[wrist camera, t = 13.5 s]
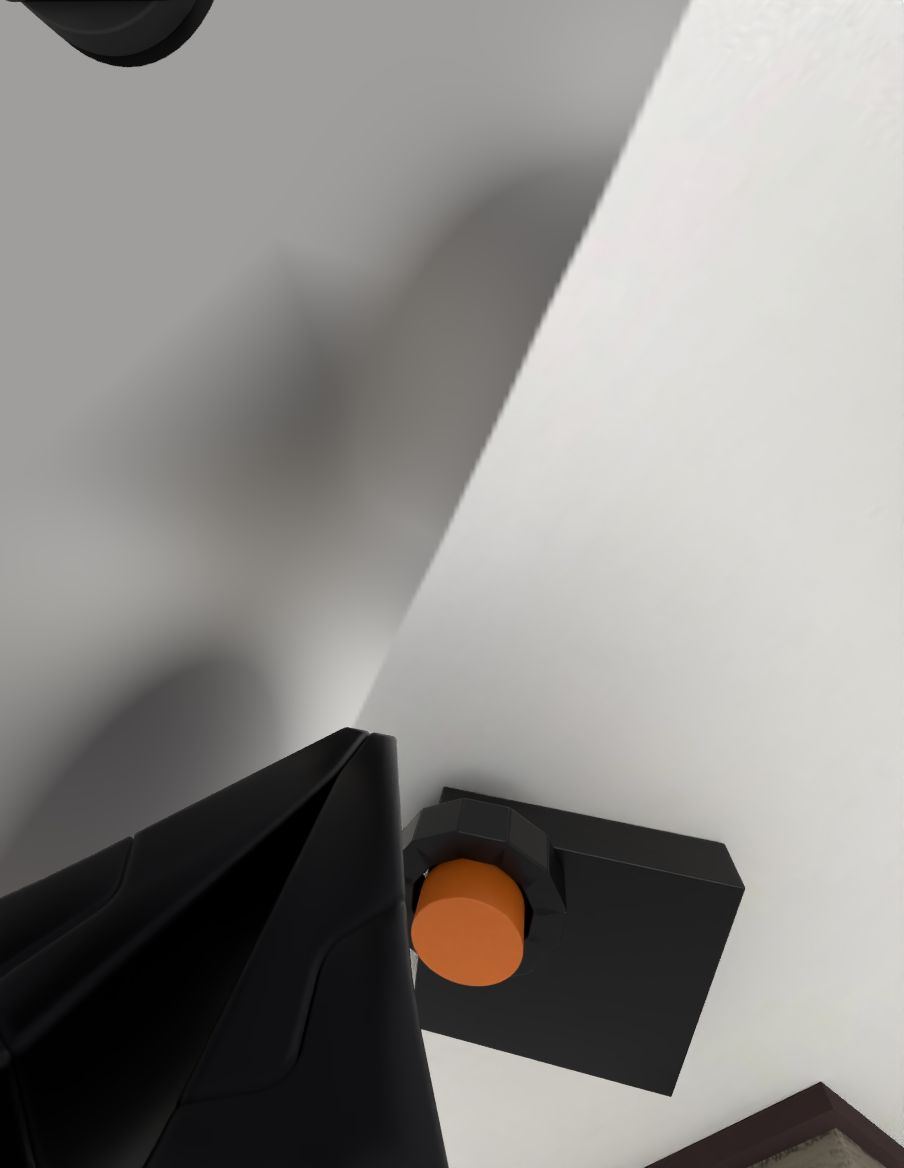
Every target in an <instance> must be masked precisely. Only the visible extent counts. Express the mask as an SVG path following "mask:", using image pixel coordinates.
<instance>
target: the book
mask: <svg viewBox="0 0 904 1168" xmlns="http://www.w3.org/2000/svg"><path fill="white" fill-rule="evenodd" d="M646 1168H904V1148H903V1147H902V1146H900V1145H899V1144H898V1143H897V1142H895V1141H894V1140H893V1139H892V1138H890V1137H889V1136H888V1135H887V1134H885V1133H884V1132H883V1131H882V1130H880V1129H879V1128H878V1127H877V1126H875V1125H874V1124H873V1123H872V1122H870V1121H869V1120H868V1119H867V1118H865V1117H864V1116H863V1115H862V1114H860V1113H859V1112H858V1111H857V1110H855V1109H854V1108H853V1107H852V1106H850V1105H849V1104H848V1103H847V1102H845V1101H844V1100H843V1099H842V1098H841V1097H839V1096H838V1095H837V1094H836V1093H834V1092H833V1091H832V1090H831V1089H829V1088H828V1087H827V1086H826V1085H824V1084H823V1083H822V1082H821V1083H819V1084H817V1085H815V1086H813V1087H811V1088H809V1089H807V1090H805V1091H803V1092H800V1093H798V1094H796V1095H794V1096H792V1097H790V1098H788V1099H786V1100H784V1101H782V1102H780V1103H778V1104H776V1105H774V1106H772V1107H770V1108H768V1109H766V1110H763V1111H761V1112H759V1113H757V1114H755V1115H753V1116H751V1117H749V1118H747V1119H745V1120H743V1121H741V1122H739V1123H737V1124H735V1125H733V1126H731V1127H728V1128H726V1129H724V1130H722V1131H720V1132H718V1133H716V1134H714V1135H712V1136H710V1137H708V1138H706V1139H704V1140H702V1141H700V1142H698V1143H696V1144H693V1145H691V1146H689V1147H687V1148H685V1149H683V1150H681V1151H679V1152H677V1153H675V1154H673V1155H671V1156H669V1157H667V1158H665V1159H663V1160H661V1161H659V1162H656V1163H654V1164H652V1165H650V1166H648V1167H646Z"/></svg>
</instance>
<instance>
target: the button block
mask: <svg viewBox="0 0 904 1168" xmlns="http://www.w3.org/2000/svg"><path fill="white" fill-rule="evenodd" d="M402 844H403V862H404V879H405V896H406V901H405V904H406V907H407V925H408V939H409V948H410V949H412V950H413V951H414V952H416V950H415V948H414V945H413V942H412V936H411V928H412V923H413V920H414V916H415V912H416V908H417V904H418V901H419V897H420V893H421V889H422V885H423V882H424V880H425V877H424V875H423V874H424V873H425V872H426V871H427V870H428V874H429V872H430V871H431V870H432V869H433V868H435V867H436V866H438V865H439V864H441V863H444V862H448V861H453V860H457V859H462V858H463V859H468V860H472V861H477V862H481V863H486V864H490V865H494V866H496V867H498V868H499V869H501V870H502V871H503V872H505V873H506V874H507V875H509V876H510V877H511V878H512V879H513V880H514V881H515V883H516V884H517V885H518V887H519V889H520V891H521V893H522V896H523V899H524V906H525V914H524V949H523V957H522V961H521V963H520V965H519V967H518V968H517V970H516V971H515V972H514V973H513V974H512V975H511V976H510V977H508V978H507V979H505V980H503V981H501V982H499V983H496V984H492V985H487V986H469V985H463V984H459V983H456V982H453V981H450V980H448V979H446V978H444V977H442V976H440V975H438V974H437V973H435V972H434V971H433V970H431V969H430V968H429V967H428V966H427V965H426V964H425V963H424V962H423V961H422V960H421V958H420V957H419V955H418V963H417V972H416V981H415V989H414V991H415V997H416V1003H417V1009H418V1015H419V1021H420V1027H421V1029H423V1030H427V1031H430V1032H434V1033H438V1034H441V1035H445V1036H449V1037H452V1038H456V1039H460V1040H463V1041H467V1042H471V1043H474V1044H478V1045H482V1046H485V1047H489V1048H493V1049H496V1050H500V1051H504V1052H508V1053H511V1054H515V1055H519V1056H522V1057H526V1058H530V1059H533V1060H537V1061H541V1062H544V1063H548V1064H552V1065H555V1066H559V1067H563V1068H566V1069H570V1070H574V1071H577V1072H581V1073H585V1074H589V1075H592V1076H596V1077H600V1078H603V1079H607V1080H611V1081H614V1082H618V1083H622V1084H625V1085H629V1086H633V1087H636V1088H640V1089H644V1090H647V1091H651V1092H655V1093H659V1094H662V1095H666V1096H670V1097H671V1096H672V1093H673V1091H674V1088H675V1085H676V1082H677V1079H678V1077H679V1074H680V1071H681V1068H682V1065H683V1062H684V1060H685V1057H686V1054H687V1051H688V1048H689V1046H690V1043H691V1040H692V1037H693V1034H694V1031H695V1029H696V1026H697V1023H698V1020H699V1017H700V1014H701V1012H702V1009H703V1006H704V1003H705V1000H706V998H707V995H708V992H709V989H710V986H711V983H712V981H713V978H714V975H715V972H716V969H717V967H718V964H719V961H720V958H721V955H722V952H723V950H724V947H725V944H726V941H727V938H728V936H729V933H730V930H731V927H732V924H733V921H734V919H735V916H736V913H737V910H738V907H739V905H740V902H741V899H742V896H743V893H744V890H745V886H744V884H743V882H742V880H741V878H740V876H739V874H738V871H737V869H736V867H735V865H734V863H733V861H732V859H731V857H730V854H729V852H728V850H727V848H726V846H725V844H722V843H717V842H712V841H708V840H703V839H698V838H693V837H688V836H683V835H678V834H673V833H668V832H664V831H659V830H654V829H649V828H644V827H639V826H634V825H629V824H625V823H620V822H615V821H610V820H605V819H600V818H595V817H590V816H586V815H581V814H576V813H571V812H566V811H561V810H556V809H551V808H546V807H542V806H537V805H532V804H527V803H522V802H517V801H512V800H507V799H503V798H498V797H493V796H488V795H483V794H478V793H473V792H468V791H464V790H459V789H454V788H449V787H444V788H443V791H442V795H441V798H440V802H439V804H438V805H434V806H430V807H427V808H423V810H421V811H420V812H419V813H418V814H417V815H416V816H415V818H414V819H413V820H412V821H411V822H410V823H409V824H408V825H407V826H406V827H405V828H404V829H403V830H402ZM416 953H417V952H416Z"/></svg>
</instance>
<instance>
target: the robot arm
mask: <svg viewBox="0 0 904 1168" xmlns="http://www.w3.org/2000/svg"><path fill="white" fill-rule="evenodd" d="M7 1H10V2H59V1H168V0H7ZM405 901H406V896H405V879H404V862H403V844H402V827H401V810H400V793H399V776H398V759H397V742H396V738H395V737H394V736H390V735H385V734H379V733H371V734H369V732H368V731H364V730H359V729H354V728H348V727H346V728H343V729H341V730H339V731H337V732H335V733H333V734H331V735H329V736H327V737H325V738H323V739H321V740H319V741H317V742H315V743H313V744H311V745H309V746H307V747H305V748H303V749H301V750H299V751H297V752H295V753H293V754H291V755H289V756H287V757H285V758H283V759H281V760H279V761H277V762H275V763H273V764H272V765H269V766H267V767H265V768H263V769H261V770H260V771H258V772H256V773H254V774H252V775H250V776H248V777H246V778H244V779H242V780H240V781H238V782H236V783H234V784H232V785H230V786H228V787H226V788H224V789H222V790H220V791H218V792H216V793H214V794H212V795H210V796H208V797H206V798H205V799H202V800H200V801H198V802H196V803H194V804H192V805H190V806H188V807H186V808H184V809H182V810H180V811H178V812H176V813H174V814H172V815H171V816H168V817H167V818H164V819H162V820H161V821H159V822H157V823H155V824H153V825H151V826H149V827H147V828H145V829H143V830H141V831H139V832H137V833H136V834H135V835H134V838H132V837H126V838H124V839H123V840H121V841H119V842H117V843H115V844H113V845H111V846H109V847H107V848H105V849H103V850H101V851H99V852H97V853H95V854H93V855H91V856H89V857H86V858H84V859H82V860H80V861H79V862H76V863H74V864H72V865H70V866H68V867H66V868H64V869H62V870H60V871H57V872H55V873H53V874H51V875H49V876H47V877H45V878H43V879H41V880H39V881H36V882H34V883H32V884H30V885H28V886H25V887H23V888H21V889H19V890H17V891H14V892H12V893H10V894H7V895H5V896H3V897H1V898H0V1168H449V1167H448V1162H447V1157H446V1152H445V1147H444V1142H443V1137H442V1132H441V1127H440V1122H439V1117H438V1112H437V1107H436V1102H435V1097H434V1092H433V1087H432V1082H431V1077H430V1072H429V1068H428V1063H427V1058H426V1053H425V1048H424V1043H423V1038H422V1032H421V1027H420V1021H419V1015H418V1009H417V1003H416V997H415V991H414V985H413V979H412V969H411V959H410V949H409V939H408V925H407V907H406V904H405Z"/></svg>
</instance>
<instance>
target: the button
mask: <svg viewBox="0 0 904 1168" xmlns="http://www.w3.org/2000/svg"><path fill="white" fill-rule="evenodd" d="M524 914H525V906H524V899H523V896H522V893H521V891H520V889H519V887H518V885H517V884H516V883H515V881H514V880H513V879H512V878H511V877H510V876H509V875H507V874H506V873H505V872H503V871H502V870H501V869H499V868H498V867H496V866H494V865H490V864H486V863H481V862H477V861H472V860H468V859H463V858H462V859H457V860H453V861H448V862H444V863H441V864H439V865H438V866H436V867H435V868H433V869H432V870H431V871H430V872H429V874H428V875H427V876H426V878H425V880H424V882H423V885H422V889H421V893H420V897H419V901H418V904H417V908H416V912H415V916H414V920H413V923H412V928H411V936H412V942H413V945H414V948H415V950H416V952H417V954H418V955H419V957H420V958H421V960H422V961H423V962H424V963H425V964H426V965H427V966H428V967H429V968H430V969H431V970H433V971H434V972H435V973H437V974H438V975H440V976H442V977H444V978H446V979H448V980H450V981H453V982H456V983H459V984H463V985H469V986H487V985H492V984H496V983H499V982H501V981H503V980H505V979H507V978H508V977H510V976H511V975H512V974H513V973H514V972H515V971H516V970H517V968H518V967H519V965H520V963H521V961H522V957H523V949H524Z"/></svg>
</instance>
